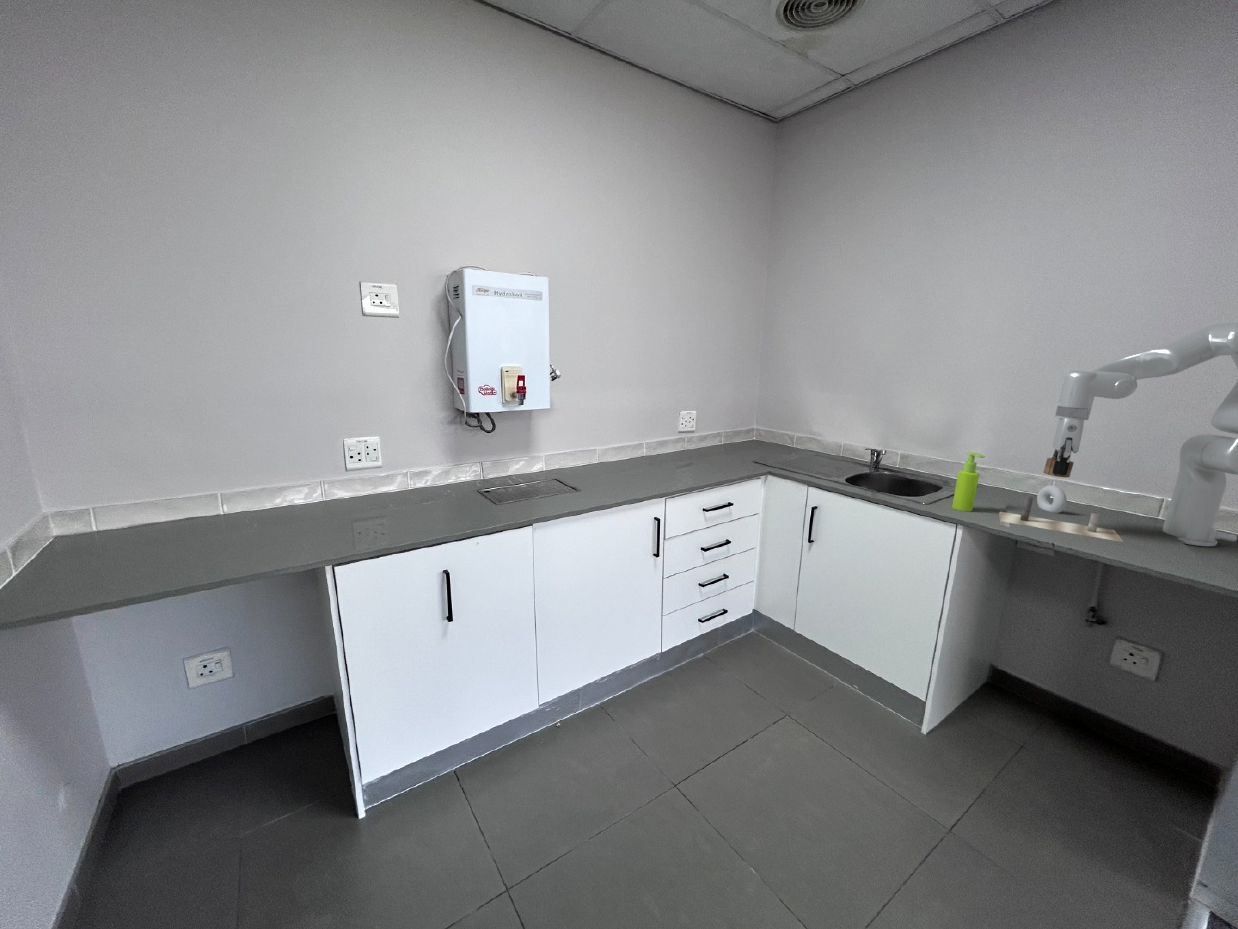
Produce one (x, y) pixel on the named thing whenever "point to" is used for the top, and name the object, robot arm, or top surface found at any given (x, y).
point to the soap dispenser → (966, 485)
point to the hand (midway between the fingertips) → (1057, 471)
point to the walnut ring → (1050, 466)
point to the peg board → (1058, 523)
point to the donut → (1058, 499)
